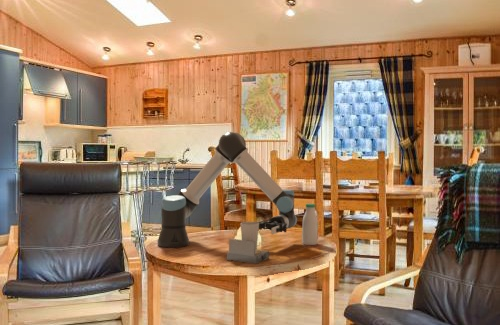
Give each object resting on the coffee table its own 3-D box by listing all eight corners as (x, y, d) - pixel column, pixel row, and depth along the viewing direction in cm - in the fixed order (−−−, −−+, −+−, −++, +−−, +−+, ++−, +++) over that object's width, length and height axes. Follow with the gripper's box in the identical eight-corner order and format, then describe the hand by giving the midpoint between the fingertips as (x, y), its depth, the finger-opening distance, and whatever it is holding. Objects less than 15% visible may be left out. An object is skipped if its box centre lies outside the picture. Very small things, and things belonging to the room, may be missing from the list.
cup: (262, 251, 207) (263, 223, 207) (249, 254, 201) (249, 225, 201) (249, 248, 213) (249, 221, 212) (236, 250, 207) (236, 223, 207)
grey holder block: (226, 259, 204) (226, 238, 204) (240, 254, 215) (240, 234, 214) (257, 264, 197) (257, 242, 197) (269, 258, 208) (269, 237, 208)
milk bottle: (317, 245, 236) (317, 204, 236) (301, 244, 238) (301, 204, 237) (318, 242, 244) (318, 203, 243) (302, 242, 245) (303, 202, 245)
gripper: (302, 233, 227) (283, 241, 208) (255, 229, 239) (233, 235, 220) (302, 217, 227) (284, 223, 208) (255, 214, 239) (234, 219, 220)
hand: (258, 229), depth 214 cm, fingers open, 13 cm apart
